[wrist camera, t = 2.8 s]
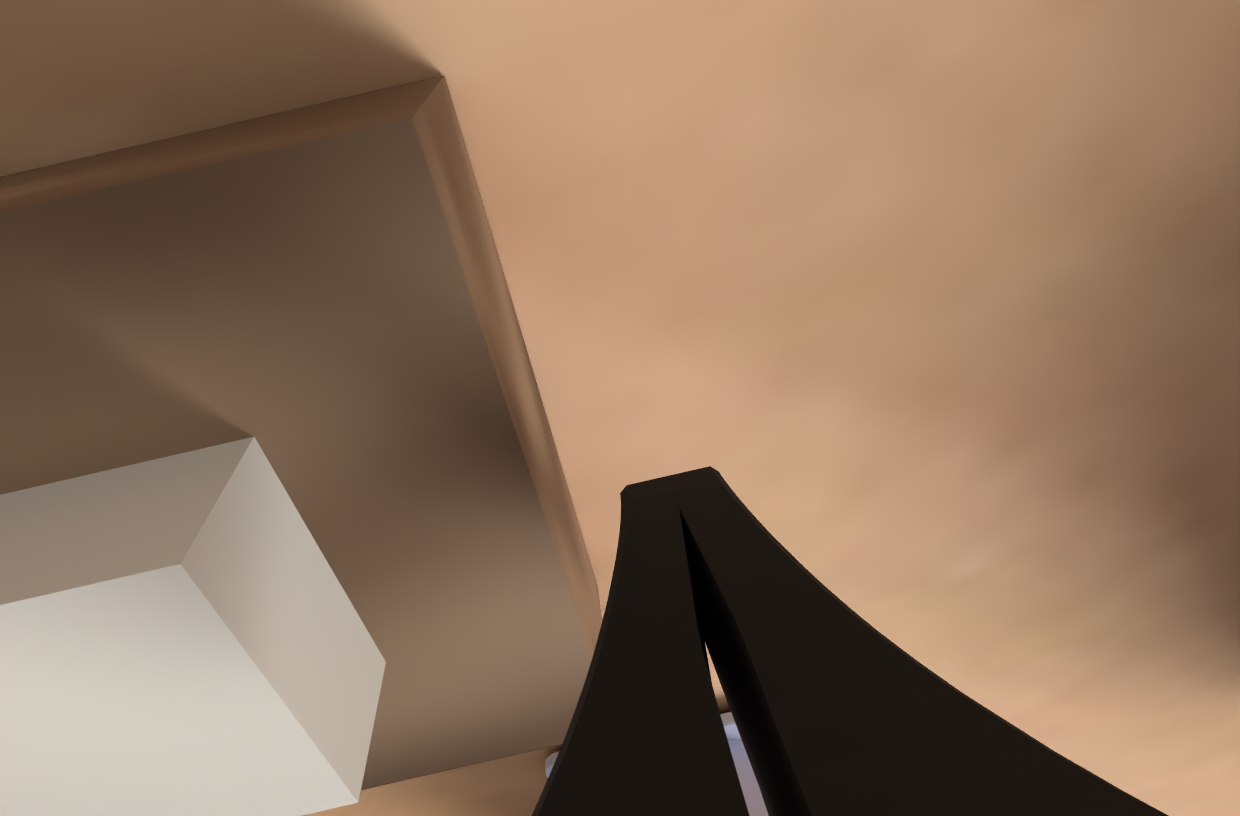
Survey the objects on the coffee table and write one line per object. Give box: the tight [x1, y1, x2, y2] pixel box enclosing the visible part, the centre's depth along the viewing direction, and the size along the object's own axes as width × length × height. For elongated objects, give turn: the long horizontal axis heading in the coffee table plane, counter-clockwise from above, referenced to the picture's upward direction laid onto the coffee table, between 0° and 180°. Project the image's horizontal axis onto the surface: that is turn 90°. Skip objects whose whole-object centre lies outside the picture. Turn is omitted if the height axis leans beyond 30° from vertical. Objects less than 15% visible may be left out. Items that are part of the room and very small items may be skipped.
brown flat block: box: [0, 76, 602, 790], centre depth 13 cm, size 12×11×4 cm
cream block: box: [0, 437, 386, 816], centre depth 10 cm, size 5×5×2 cm
